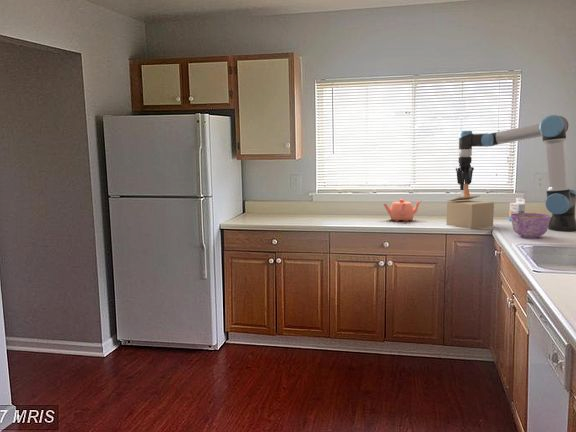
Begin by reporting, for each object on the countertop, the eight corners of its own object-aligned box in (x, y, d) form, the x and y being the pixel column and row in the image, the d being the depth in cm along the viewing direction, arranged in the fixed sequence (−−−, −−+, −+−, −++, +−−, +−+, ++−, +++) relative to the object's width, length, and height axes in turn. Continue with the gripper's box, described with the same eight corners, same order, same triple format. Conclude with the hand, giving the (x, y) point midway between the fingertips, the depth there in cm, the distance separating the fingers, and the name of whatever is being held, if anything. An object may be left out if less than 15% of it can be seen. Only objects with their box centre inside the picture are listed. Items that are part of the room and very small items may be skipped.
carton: (492, 226, 325) (494, 202, 323) (471, 228, 316) (472, 204, 314) (467, 222, 342) (468, 199, 340) (446, 224, 334) (447, 201, 332)
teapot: (421, 220, 351) (422, 199, 349) (404, 223, 339) (404, 201, 337) (399, 217, 365) (399, 197, 363) (381, 220, 353) (381, 199, 351)
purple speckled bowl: (505, 237, 286) (506, 216, 285) (513, 232, 303) (514, 212, 301) (546, 241, 275) (548, 219, 274) (552, 235, 292) (554, 214, 290)
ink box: (508, 220, 346) (509, 197, 344) (515, 220, 348) (516, 197, 346) (517, 222, 338) (519, 199, 336) (524, 222, 340) (525, 198, 338)
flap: (479, 196, 332) (477, 182, 333) (458, 197, 323) (456, 184, 325) (468, 199, 340) (465, 186, 341) (447, 201, 332) (444, 187, 333)
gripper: (469, 156, 335) (468, 194, 338) (451, 156, 328) (450, 195, 331) (478, 156, 328) (477, 195, 331) (460, 156, 322) (459, 196, 325)
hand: (464, 195), depth 331 cm, fingers closed on flap, 2 cm apart
